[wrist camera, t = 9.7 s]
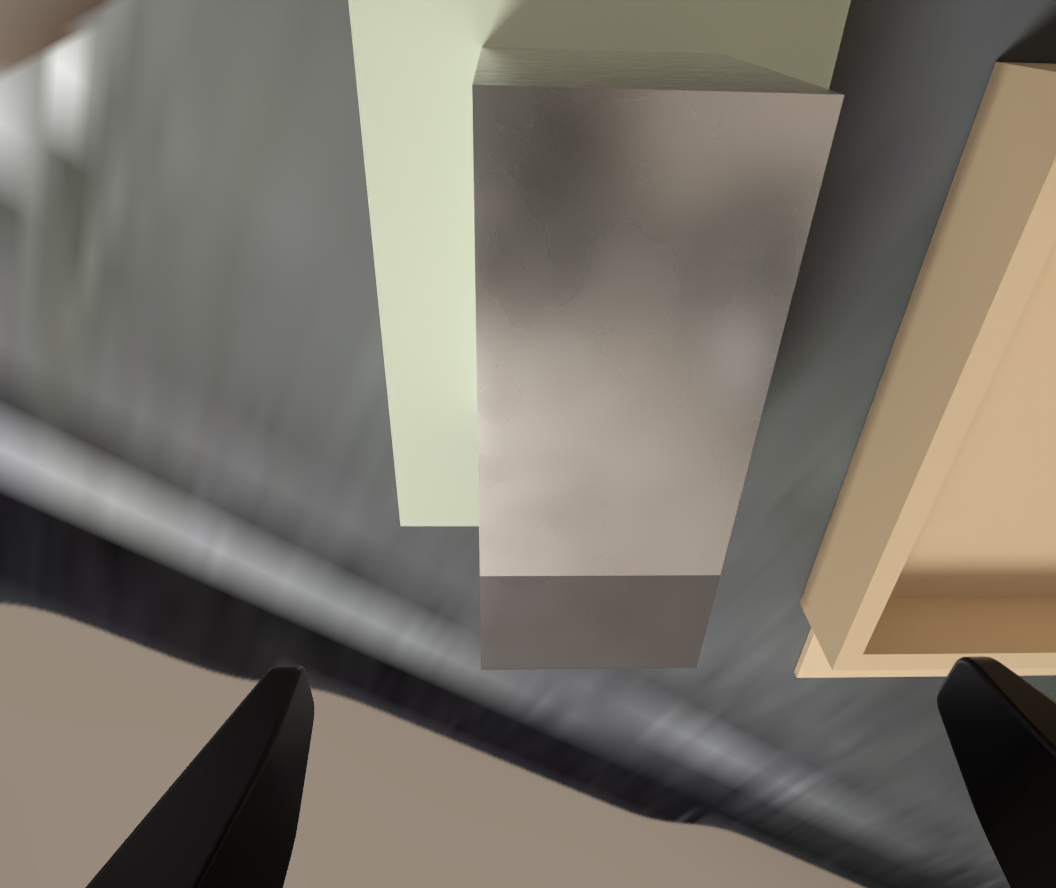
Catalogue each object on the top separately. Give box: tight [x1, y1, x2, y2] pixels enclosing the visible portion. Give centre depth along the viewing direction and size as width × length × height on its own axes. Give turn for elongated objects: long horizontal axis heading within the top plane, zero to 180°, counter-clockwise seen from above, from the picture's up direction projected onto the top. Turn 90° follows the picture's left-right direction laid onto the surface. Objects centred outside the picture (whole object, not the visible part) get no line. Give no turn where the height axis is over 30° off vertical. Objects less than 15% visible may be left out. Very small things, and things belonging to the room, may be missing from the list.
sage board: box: [348, 0, 851, 526], centre depth 18 cm, size 14×10×1 cm
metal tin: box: [472, 47, 844, 670], centre depth 15 cm, size 12×5×6 cm, turn 178°
